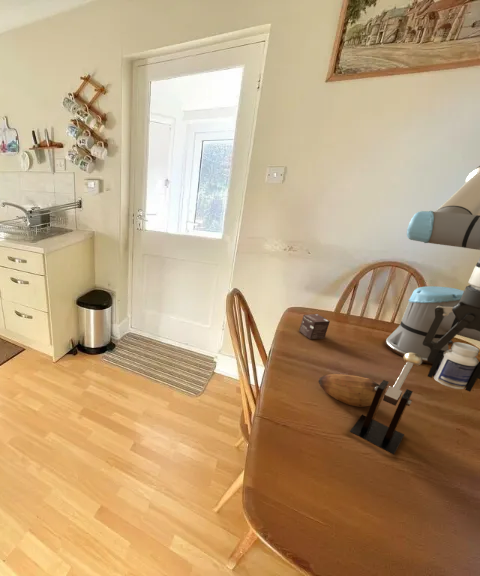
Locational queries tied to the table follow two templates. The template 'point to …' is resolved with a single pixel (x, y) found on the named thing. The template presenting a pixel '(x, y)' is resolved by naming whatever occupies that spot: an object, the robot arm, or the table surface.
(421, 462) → the table surface
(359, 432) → the black lever stand
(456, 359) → the pill bottle
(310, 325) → the box
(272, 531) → the table surface
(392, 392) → the hinged lever
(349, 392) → the potato
